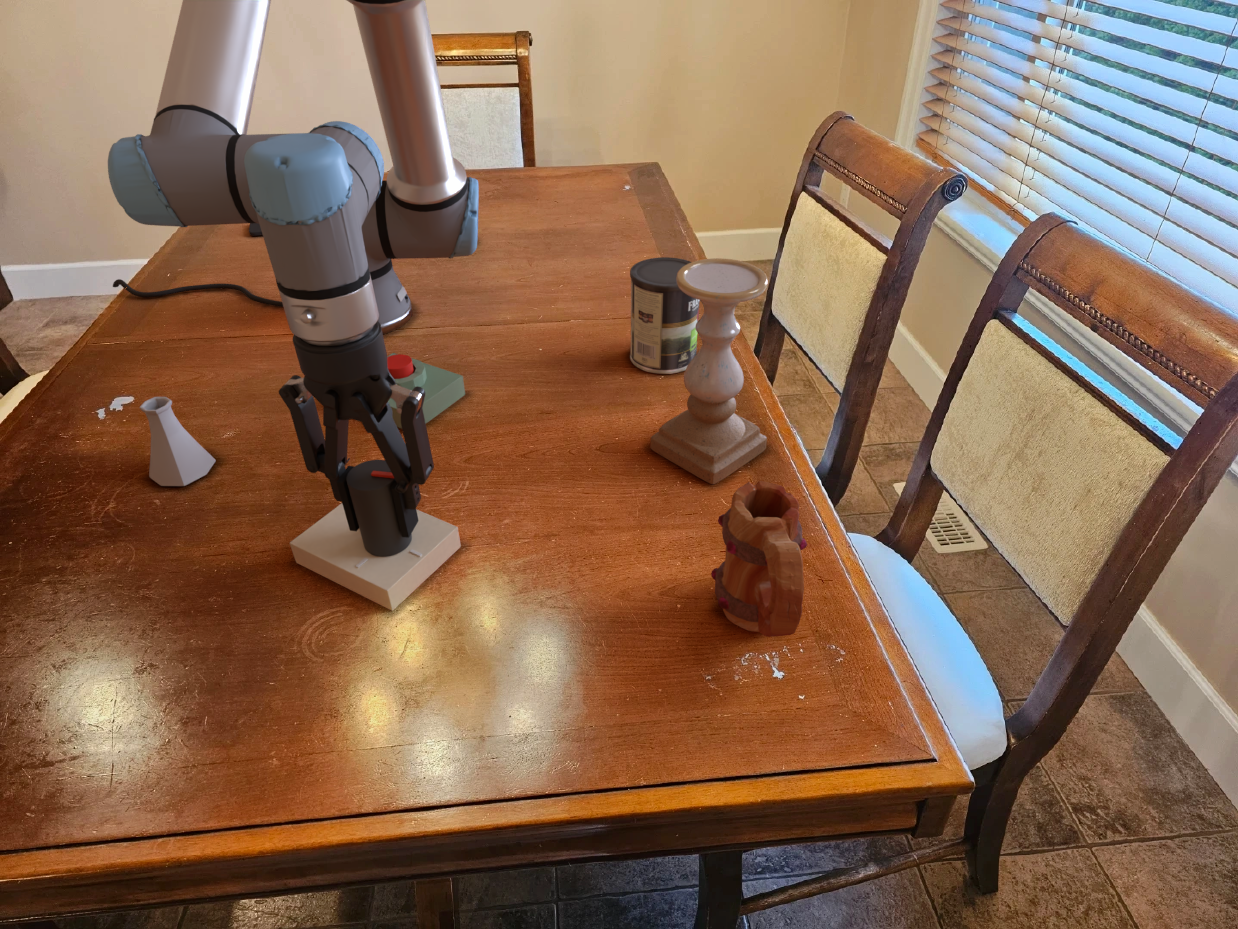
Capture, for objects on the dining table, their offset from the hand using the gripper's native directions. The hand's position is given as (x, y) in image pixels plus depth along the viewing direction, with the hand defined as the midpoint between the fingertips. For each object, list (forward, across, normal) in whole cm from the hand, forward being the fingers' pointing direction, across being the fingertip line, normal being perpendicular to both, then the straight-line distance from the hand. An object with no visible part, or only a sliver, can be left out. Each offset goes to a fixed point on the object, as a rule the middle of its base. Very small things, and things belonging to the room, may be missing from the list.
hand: (384, 525), depth 84 cm
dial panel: (+5, -2, +1) cm, 6 cm away
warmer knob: (+2, 0, 0) cm, 2 cm away
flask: (+5, -32, +11) cm, 34 cm away
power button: (+1, -11, +31) cm, 33 cm away
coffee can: (+5, +23, +49) cm, 54 cm away
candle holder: (+5, +32, +27) cm, 42 cm away
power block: (+5, -11, +31) cm, 33 cm away
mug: (+5, +40, -3) cm, 40 cm away
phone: (+5, -60, +89) cm, 108 cm away
